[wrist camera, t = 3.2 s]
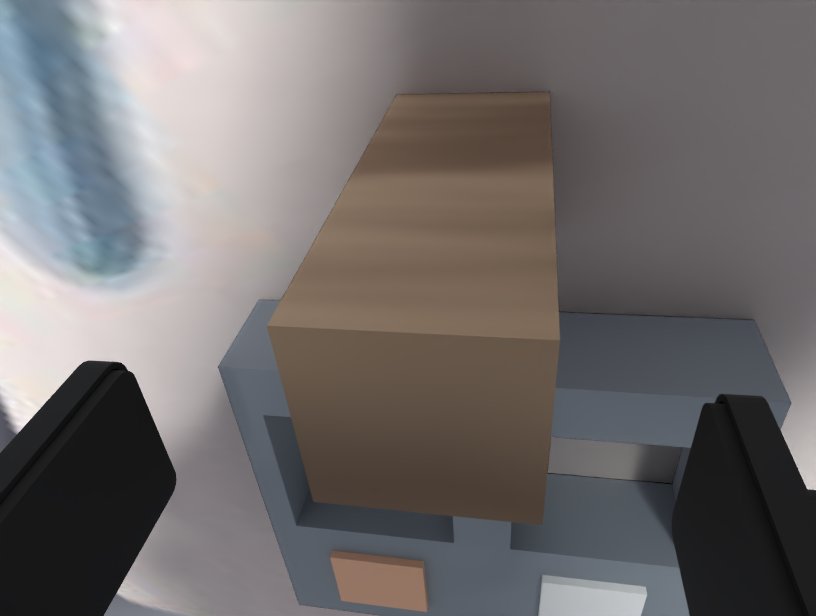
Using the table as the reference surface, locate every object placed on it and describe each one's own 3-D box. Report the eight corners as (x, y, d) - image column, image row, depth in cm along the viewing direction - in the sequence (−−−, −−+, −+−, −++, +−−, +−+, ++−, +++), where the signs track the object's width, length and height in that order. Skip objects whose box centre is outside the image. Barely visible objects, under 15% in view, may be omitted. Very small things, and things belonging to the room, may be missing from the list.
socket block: (258, 299, 22) (213, 373, 19) (754, 320, 19) (795, 411, 16) (321, 534, 30) (297, 611, 27) (671, 573, 27) (688, 664, 24)
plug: (396, 94, 17) (266, 325, 9) (549, 91, 16) (559, 340, 8) (407, 226, 19) (313, 501, 11) (541, 229, 18) (542, 525, 10)
